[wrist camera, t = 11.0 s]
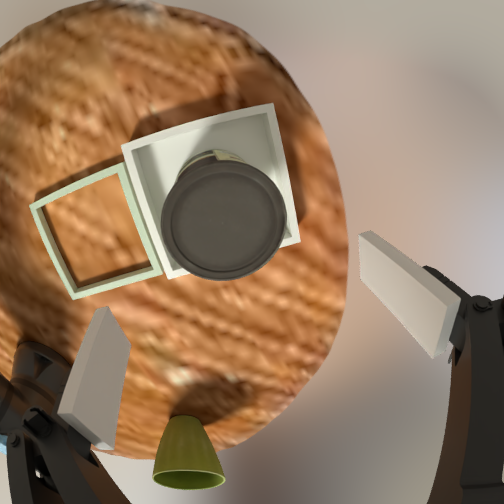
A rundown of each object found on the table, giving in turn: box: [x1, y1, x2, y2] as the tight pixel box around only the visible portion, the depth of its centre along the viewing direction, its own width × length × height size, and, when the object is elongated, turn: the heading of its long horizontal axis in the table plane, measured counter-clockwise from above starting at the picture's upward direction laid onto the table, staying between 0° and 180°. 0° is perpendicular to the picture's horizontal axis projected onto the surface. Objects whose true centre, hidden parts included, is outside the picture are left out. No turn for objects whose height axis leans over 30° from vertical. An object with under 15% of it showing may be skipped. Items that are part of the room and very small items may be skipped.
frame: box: [29, 161, 164, 300], centre depth 34 cm, size 16×16×2 cm
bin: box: [121, 103, 300, 279], centre depth 34 cm, size 18×18×4 cm
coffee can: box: [161, 149, 287, 281], centre depth 29 cm, size 10×10×14 cm
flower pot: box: [152, 415, 225, 490], centre depth 48 cm, size 15×15×16 cm
